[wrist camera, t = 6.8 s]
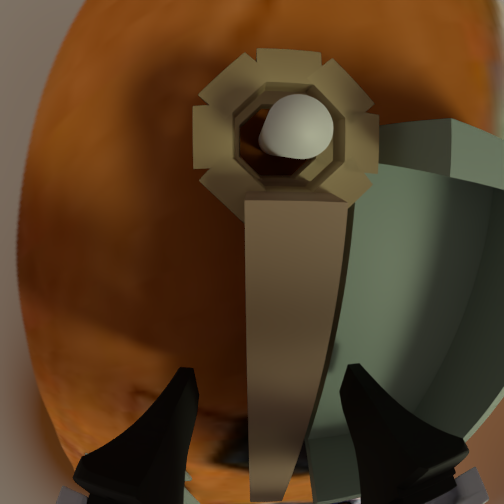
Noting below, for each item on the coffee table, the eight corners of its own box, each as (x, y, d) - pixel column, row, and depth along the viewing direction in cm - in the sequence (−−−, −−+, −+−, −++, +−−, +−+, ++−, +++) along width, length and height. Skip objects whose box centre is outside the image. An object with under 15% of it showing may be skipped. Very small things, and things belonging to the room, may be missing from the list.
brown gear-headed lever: (292, 432, 17) (300, 499, 11) (234, 434, 17) (231, 501, 11) (327, 95, 9) (398, 49, 4) (218, 91, 9) (181, 32, 4)
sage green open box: (410, 414, 17) (434, 471, 11) (256, 436, 17) (257, 510, 11) (492, 163, 10) (579, 187, 4) (258, 125, 10) (267, 85, 4)
